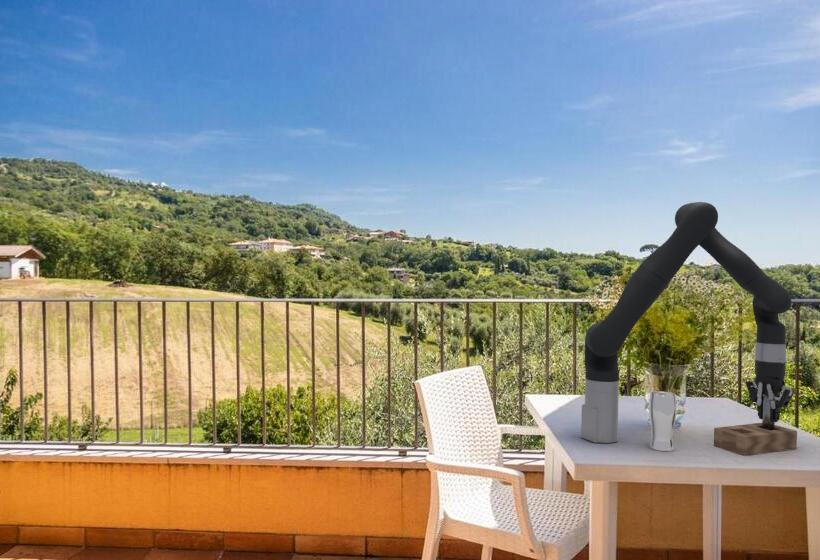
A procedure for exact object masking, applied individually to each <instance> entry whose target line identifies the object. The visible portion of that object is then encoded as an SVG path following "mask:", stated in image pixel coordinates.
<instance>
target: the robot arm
mask: <svg viewBox="0 0 820 560" xmlns="http://www.w3.org/2000/svg"><path fill="white" fill-rule="evenodd" d="M718 220H719V213H718V210H717V208H716V207H715V206H714V205H713V204H712V203H709V202H704V201H695V202H690V203H685V204H683V205H682V206H680V207H679V208H678V209H677V210H676V212H675V215H674V223H675V226H676V228H675V229H674V230H673V232H672V234H671V235H670V236H669V237H668V238H667V240H665V241H664V243H662V245H660V246H658V248H656V249H655V250H654V251H652V253H650V254H649V255H648V256H647V257H646V258H645V259H644V260H643V261H642V262H641V263H640V264H639V266H638V267H637V268H636V270H635V271H634V272H633V273H632V275H631V276H630V278H629V280H628V281H627V283H626V284H625V286H624V287H623V290H622V292H621V294H620V295H619V296H620V297H619V298H618V300H617V302H616V304H615V305H614V307H613V309H611V311H610V312H609V313H608V314H607V315H606V317H605V318H604V319H603V320H602V321H601V322H596V323H594V324H592V325H590V327H589V328H588V329H587V331H586V333H585V336H584V370H585V371H584V372H585V378H584V379H585V382H584V384H585V387H584V404H582V405H581V424H580V425H581V427H580V428H581V429H580V438H582V439H585V440H587V441H589V442H592V443H600V444H611V443H616V442H617V441H618V433H619V432H618V428H619V401H620V400H619V398H620V397H619V393H620V369H619V363H618V362H619V361H618V355H619V354H618V352H619V351H620V350H621V348H622V347H623V345H624V343H625V341H626V339H627V338H628V337H629V335H630V334H631V332H632V331H633V329H634V327H635V325H636V324H637V323H638V321H639V320H640V319H641V318H642V316H644V315H645V314H646V313H647V311H648V310H649V309H650V308H651V306H652V305H654V303H655V301H656V300H658V298H659V297H660V296H661V294H662V293H663V292H664V291H665V289H666V288H667V287H668V286H669V284H670V283H671V282H672V280H673V279H674V277H675V276H676V274H677V273H678V272H679V271H680V269H681V268H682V266H683V265H684V264H685V262H686V261H687V259H688V258H689V257H690V255H691V254H692V253H693V252H694V251H695V250H696V248H697V247H698V246H699V247H701V248H702V249H703V250H704V251H705V252H706V253H707V254H708V255H710V256H711V257H712V259H713V260H715V262H717V263H718V264H719V266H720V267H722V268H723V270H724V271H725V272H726V273H727V274H728V275H729V276H730V278H732V280H733V281H735V282H736V284H738V286H739V287H740V288H741V289H743V291H746V292H748V293H751V294H752V295H753V298H752V311H753V316H754V321H755V325H756V345H755V349H754V374H755V377H754V379H753V380H751V381H750V380H749V381H745V386H746V388H747V392H748V394H749V397H750V400H751V402H752V403H755V404H757V416H758V418H759V420H762V415H763V395H769V400H770V401H771V407H772V409H771V417H770V421H771V422H775V423H778V422H779V421H780V417H781V415H780V414H781V413H780V411H781V409H783V408H784V409H786V408H788V406H789V405H790V402H791V400H792V398H793V396H794V395H795V389H794V388H790V387H788V386H787V385H786V383H785V377H786V365H787V348H786V333H787V332H786V325H784V324H783V323H782V322H781V321H780V319H779V314H785V313H786V312H788V311H789V310H790V309H791V307H792V304H793V303H792V301H793V300H792V298H791V297H792V296H791V295H790V293H789V292H788V291H787V290H786V289H785V287H784V286H782V285H781V284H779V282H777V281H776V280H775V279H773V278H772V277H770V276H769V275H767V274H766V273H765V272H764V271H763V270H762V269H761V267H759V266H758V264H757V263H756V262H755V261H754V260H753V259H752V258H751V257H750V256H749V255H748V254H746V252H745V251H743V250H742V249H740V248H739V247H737V246H736V245H735V244H733V242H731V241H729V240H728V239H727V238H726V237H725V236H723V235H722V233H721V232H720V231H718V229H717V228H716V226H717V224H718ZM774 396H775V397H774Z"/></svg>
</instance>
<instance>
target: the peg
mask: <svg viewBox="0 0 820 560" xmlns="http://www.w3.org/2000/svg"><path fill="white" fill-rule="evenodd" d="M774 397H776V396H774ZM771 409H772V407H771V401H770V400H769V395H763V415H762V419H761V420H762V421H761V423H762V429H766V430H774V426H775V425H776V424H775V423H776V422H771V421H770V417H771Z"/></svg>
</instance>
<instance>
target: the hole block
mask: <svg viewBox="0 0 820 560" xmlns="http://www.w3.org/2000/svg"><path fill="white" fill-rule="evenodd" d="M797 440H798V430H795V429H792V428H787V427H784V426H780V425H776V424H775V426H774V430H766V429H762V422H755V423H754V422H753V423H746V424H738V425H728V426H719V427H714V428H713V447H716V448H719V449H722V450H725V451H729V452H731V453H734V454H739V455H741V456H744V455H745V456H744V457H747V456H746V455H748V456H754V455H753V454H755V455H760V454H759V453H763V454H767V453H766V452H770V453H774V452H773V451H777V452H780V451H779V450H784V451H787V450H786V449H791V450H796V449H795V448H797V445H798V444H797V442H798V441H797ZM797 449H798V448H797Z"/></svg>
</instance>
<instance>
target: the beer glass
mask: <svg viewBox="0 0 820 560" xmlns="http://www.w3.org/2000/svg"><path fill="white" fill-rule="evenodd" d="M648 414H649V423H650V429H651V437H650V443H649V448H650V449H652V450H655V451H658V452H672V451H674V449H675V447H674V441H673V434H674V429H675V424H676V420H677V419H676V417H677V394H675V393H673V392H668V391H657V390H656V391H655V390H654V391H651V392H650V393H649V403H648Z"/></svg>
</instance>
